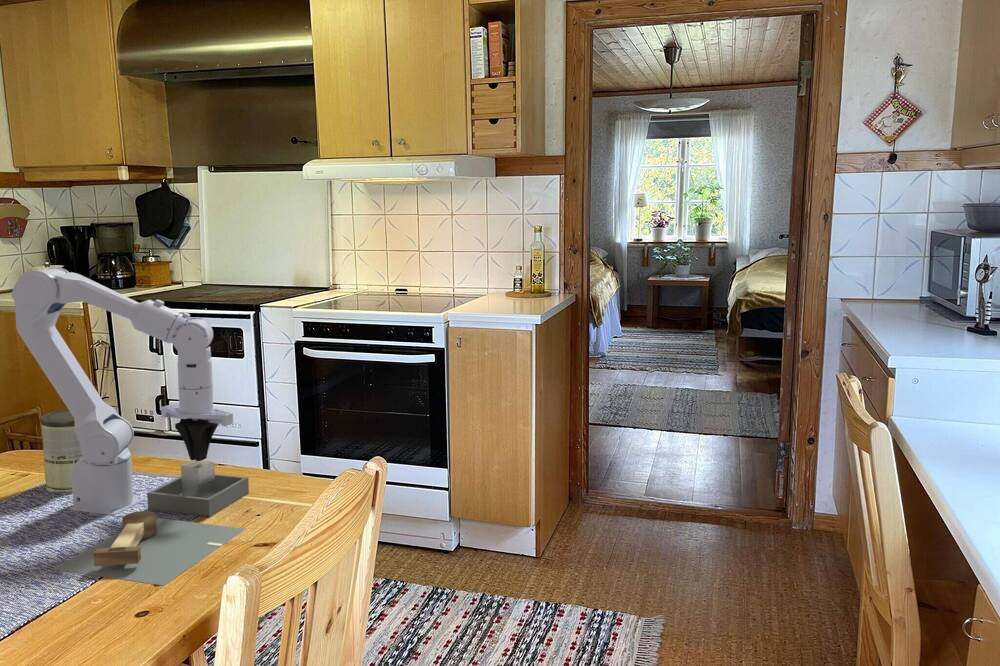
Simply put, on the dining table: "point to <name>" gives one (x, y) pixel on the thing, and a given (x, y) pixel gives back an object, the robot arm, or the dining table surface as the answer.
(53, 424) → the coffee can
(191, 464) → the block
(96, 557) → the crank lever
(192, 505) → the tray
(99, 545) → the crank board
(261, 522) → the dining table surface
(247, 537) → the dining table surface
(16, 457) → the dining table surface
